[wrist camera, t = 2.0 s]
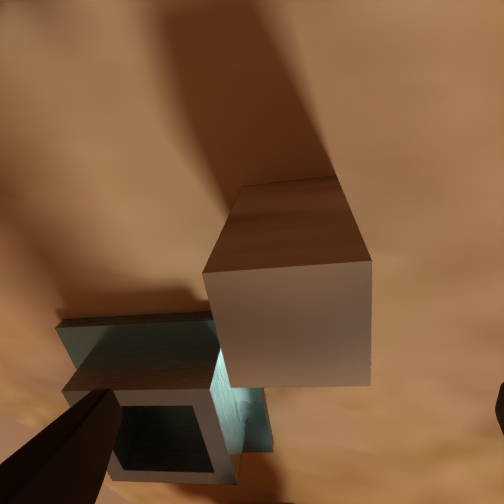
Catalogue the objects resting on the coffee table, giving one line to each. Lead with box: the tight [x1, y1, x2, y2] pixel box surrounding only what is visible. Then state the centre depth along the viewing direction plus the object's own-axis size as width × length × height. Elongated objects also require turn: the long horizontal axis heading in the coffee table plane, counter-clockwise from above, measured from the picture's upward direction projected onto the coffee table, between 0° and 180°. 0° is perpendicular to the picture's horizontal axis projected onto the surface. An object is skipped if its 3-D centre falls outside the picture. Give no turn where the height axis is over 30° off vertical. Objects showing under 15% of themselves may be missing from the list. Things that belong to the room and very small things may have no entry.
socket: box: [55, 312, 274, 485], centre depth 21 cm, size 12×12×4 cm
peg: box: [202, 176, 372, 388], centre depth 13 cm, size 4×4×8 cm
